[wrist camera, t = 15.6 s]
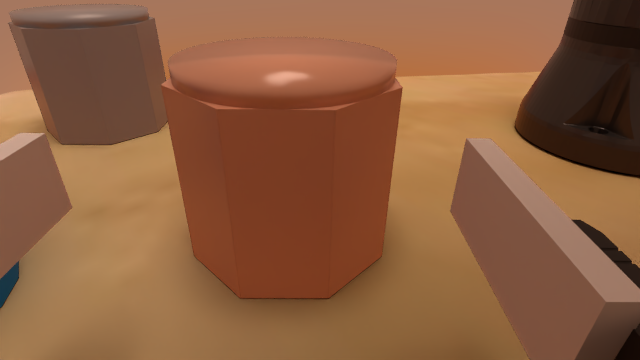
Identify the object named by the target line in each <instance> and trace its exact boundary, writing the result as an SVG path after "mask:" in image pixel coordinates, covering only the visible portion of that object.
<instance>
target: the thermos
mask: <svg viewBox="0 0 640 360" xmlns="http://www.w3.org/2000/svg"><path fill="white" fill-rule="evenodd" d="M18 278H19V261H18V262H17V263H16V264H15V265H14V266H13V267H12V268H11V269H10V270H9V271H8V272H7V273H6V274H5V275H4V276H3V277H2V278H1V279H0V308H1V307H2V305H3V304H4V302H5V300H6V299H7V297H8V295H9V294H10V292H11V290H12V289H13V287H14V285H15V284H16V282H17V280H18Z"/></svg>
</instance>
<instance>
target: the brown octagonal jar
mask: <svg viewBox="0 0 640 360" xmlns="http://www.w3.org/2000/svg"><path fill="white" fill-rule="evenodd" d="M9 14H10V17H11V20H12V22H9V23H8V24H9V26H10V29H11V32H12V35H13V37H14V40H15V43H16V45H17V48H18V51H19V53H20V56H21V59H22V62H23V65H24V67H25V70H26V73H27V75H28V78H29V81H30V84H31V86H32V89H33V92H34V95H35V97H36V100H37V103H38V106H39V108H40V111H41V114H42V116H43V119H44V122H45V125H46V127H47V130H48V131H49V132H50V133H51V134H52V135H53V136H54V137H55V138H56V139H57V140H58V141H59V142H60V143H61V144H115V143H118V142H122V141H125V140H129V139H133V138H136V137H140V136H144V135H147V134H151V133H155V132H158V131H159V130H160V129H161V128H162V127H163V126H164V125H165V123H166V122H167V121H168V119H167V114H166V109H165V104H164V99H163V94H162V88H161V84H163V83H164V82H165V81H166V77H165V72H164V66H163V62H162V56H161V50H160V45H159V40H158V35H157V29H156V24H155V19H154V18H152V17H149V14H148V9H147V8H146V7H143V6H136V5H120V4H82V5H81V4H80V5H60V6H59V5H58V6H44V7H33V8H25V9H19V10H14V11H11V12H10V13H9Z"/></svg>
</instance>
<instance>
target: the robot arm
mask: <svg viewBox="0 0 640 360" xmlns="http://www.w3.org/2000/svg"><path fill="white" fill-rule="evenodd" d="M515 126H516V129H517V130H518V132H519V133H520V134H521V135H522V136H523V137H525V138H526V139H527V140H529V141H530V142H532V143H534V144H535V145H537V146H539V147H541V148H543V149H545V150H547V151H549V152H552V153H554V154H557V155H559V156H562V157H565V158H567V159H570V160H573V161H577V162H580V163H583V164H587V165H590V166H594V167H598V168H602V169H607V170H611V171H616V172H621V173H627V174H634V175H640V0H574V2H573V5H572V8H571V12H570V15H569V18H568V21H567V24H566V27H565V30H564V34H563V37H562V40H561V43H560V45H559V47H558V48H557V50H556V51H555V53H554V54H553V56H552V57H551V59H550V60H549V61H548V63H547V64H546V66H545V67H544V69H543V70H542V72H541V73H540V75H539V76H538V78H537V79H536V81H535V82H534V84H533V85H532V87H531V88H530V90H529V91H528V93H527V94H526V95H525V97H524V98H523V100H522V102H521V104H520V107H519V111H518V114H517V118H516V121H515ZM71 208H72V205H71V203H70V200H69V197H68V194H67V192H66V189H65V186H64V184H63V181H62V178H61V175H60V173H59V170H58V167H57V165H56V162H55V159H54V157H53V154H52V151H51V148H50V146H49V143H48V140H47V138H46V135H45V133H19V134H17V135H16V136H14V137H12V138H10V139H8V140H7V141H5V142H3V143H1V144H0V279H1V278H2V277H3V276H4V275H5V274H6V273H7V272H8V271H9V270H10V269H11V268H12V267H13V266H14V265H15V264H16V263H17V262H18V261H19V260H20V259H21V258H22V257H23V256H24V255H25V254H26V253H27V252H28V251H29V250H30V249H31V248H32V247H33V246H34V245H35V244H36V243H37V242H38V241H39V240H40V239H41V238H42V237H43V236H44V235H45V234H46V233H47V232H48V231H49V230H50V229H51V228H52V227H53V226H54V225H55V224H56V223H57V222H58V221H59V220H60V219H61V218H62V217H63V216H64V215H65V214H66V213H67V212H68V211H69V210H70V209H71ZM450 212H451V213H452V215H453V217H454V219H455V221H456V223H457V225H458V227H459V228H460V230H461V232H462V234H463V236H464V238H465V240H466V241H467V243H468V245H469V247H470V249H471V251H472V253H473V254H474V256H475V258H476V260H477V262H478V264H479V266H480V267H481V269H482V271H483V273H484V275H485V277H486V279H487V281H488V282H489V284H490V286H491V288H492V290H493V292H494V294H495V295H496V297H497V299H498V301H499V303H500V305H501V307H502V308H503V310H504V312H505V314H506V316H507V318H508V320H509V321H510V323H511V325H512V327H513V329H514V331H515V333H516V335H517V336H518V338H519V340H520V342H521V344H522V346H523V348H524V349H525V351H526V353H527V355H528V357H529V359H530V360H640V268H639V267H638V266H637V265H636V264H632V261H631V260H630V259H629V258H628V257H627V256H626V255H625V254H624V253H623V252H622V251H618V247H617V246H616V245H614V244H613V243H612V242H611V241H610V240H609V239H608V238H607V237H606V236H605V235H604V234H603V233H602V232H600V231H598V230H596V229H595V228H593V227H591V226H590V225H588V224H586V223H585V222H583V221H581V220H571V219H570V218H569V217H568V216H567V215H566V214H565V213H564V212H563V211H562V210H561V209H560V208H559V207H558V206H557V205H556V204H555V203H554V202H553V201H552V200H551V199H550V198H549V197H548V196H547V195H546V194H545V193H544V192H543V191H542V190H541V189H540V188H539V187H538V186H537V185H536V184H535V183H534V182H533V181H532V180H531V179H530V178H529V177H528V176H527V175H526V174H525V173H524V172H523V171H522V170H521V169H520V168H519V167H518V166H517V165H516V164H515V163H514V162H513V161H512V160H511V159H510V158H509V157H508V156H507V155H506V154H505V153H504V152H503V151H502V150H501V149H500V148H499V147H498V146H497V144H496V143H495V142H494V141H493V140H492V139H482V138H466V142H465V147H464V151H463V156H462V160H461V165H460V169H459V174H458V178H457V183H456V187H455V192H454V196H453V201H452V205H451V210H450Z"/></svg>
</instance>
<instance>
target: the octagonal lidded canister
mask: <svg viewBox="0 0 640 360" xmlns="http://www.w3.org/2000/svg"><path fill="white" fill-rule="evenodd" d="M396 65H397V59H396V58H395V56H393V55H392V54H391V53H389V52H387V51H385V50H383V49H380V48H377V47H374V46H370V45H366V44H361V43H356V42H349V41H342V40H334V39H324V38H306V37H261V38H245V39H235V40H226V41H218V42H212V43H207V44H202V45H198V46H193V47H190V48H187V49H184V50H181V51H179V52H177V53H175V54H174V55H172V56H171V57H170V58H169V60H168V67H169V72H170V78H169V79H168V80H166V81H165V82H164V83H163V84H161V88H162V94H163V99H164V104H165V109H166V114H167V119H168V124H169V129H170V135H171V140H172V145H173V150H174V155H175V160H176V165H177V170H178V176H179V181H180V186H181V191H182V196H183V201H184V206H185V211H186V217H187V222H188V227H189V232H190V237H191V242H192V247H193V252H194V256H195V257H196V258H197V259H198V260H199V261H200V262H201V263H203V264H204V265H205V266H206V267H207V268H208V269H209V270H210V271H211V272H212V273H213V274H215V275H216V276H217V277H218V278H219V279H220V280H221V281H222V282H223V283H224V284H225V285H227V286H228V287H229V288H230V289H231V290H232V291H233V292H234V293H235V294H236V295H237V296H238V297H240V298H330V297H331V296H332V295H333V294H335V293H336V292H337V291H338V290H340V289H341V288H342V287H343V286H345V285H346V284H347V283H349V282H350V281H351V280H352V279H354V278H355V277H356V276H357V275H359V274H360V273H361V272H362V271H364V270H365V269H366V268H367V267H369V266H370V265H371V264H372V263H374V262H375V261H376V260H378V259H379V258H380V257H381V256H382V250H383V241H384V233H385V225H386V217H387V209H388V201H389V193H390V185H391V177H392V169H393V161H394V152H395V144H396V136H397V128H398V120H399V112H400V104H401V96H402V88H403V87H402V86H401V85H400V83H399V82H398V81H397V79H396V78H395V75H396Z"/></svg>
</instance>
